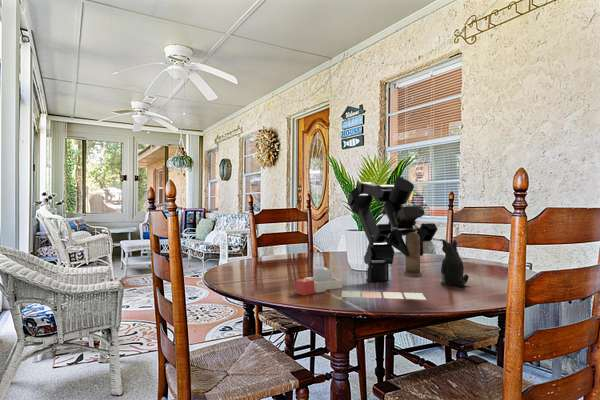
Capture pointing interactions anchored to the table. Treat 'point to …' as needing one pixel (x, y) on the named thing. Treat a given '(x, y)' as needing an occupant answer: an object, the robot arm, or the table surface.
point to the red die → (304, 286)
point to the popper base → (326, 285)
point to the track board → (386, 295)
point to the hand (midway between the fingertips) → (415, 255)
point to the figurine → (452, 266)
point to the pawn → (413, 256)
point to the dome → (323, 275)
